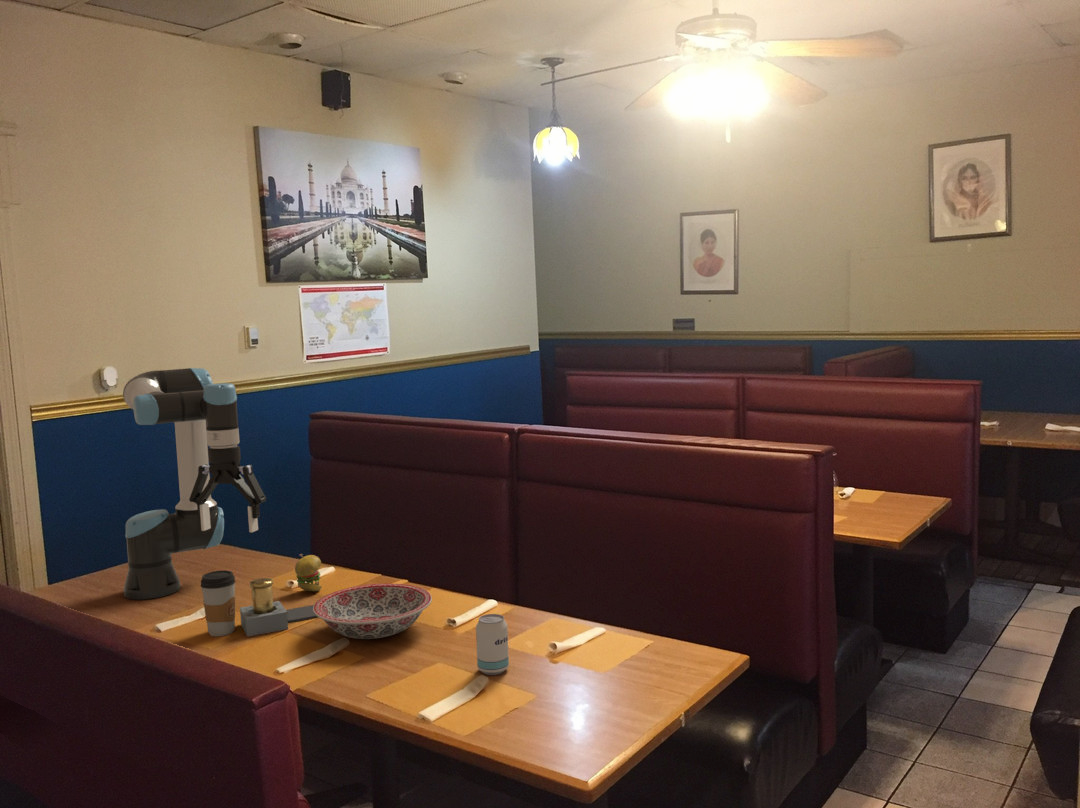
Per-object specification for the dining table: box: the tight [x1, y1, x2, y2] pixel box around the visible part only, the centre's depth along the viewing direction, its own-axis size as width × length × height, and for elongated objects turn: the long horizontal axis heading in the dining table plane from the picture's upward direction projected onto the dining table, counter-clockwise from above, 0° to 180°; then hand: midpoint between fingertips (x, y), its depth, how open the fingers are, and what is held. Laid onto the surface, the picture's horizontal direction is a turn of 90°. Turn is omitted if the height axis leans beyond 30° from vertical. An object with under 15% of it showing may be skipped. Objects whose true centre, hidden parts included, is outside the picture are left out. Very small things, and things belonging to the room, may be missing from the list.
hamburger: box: [294, 553, 322, 592], centre depth 255 cm, size 8×7×12 cm
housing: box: [239, 600, 289, 637], centre depth 228 cm, size 10×10×4 cm
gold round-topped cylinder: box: [249, 577, 274, 615], centre depth 228 cm, size 6×6×12 cm
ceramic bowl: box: [313, 583, 433, 640], centre depth 222 cm, size 29×29×8 cm
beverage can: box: [475, 613, 510, 676], centre depth 196 cm, size 7×7×12 cm
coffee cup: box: [200, 569, 237, 637], centre depth 225 cm, size 8×8×15 cm
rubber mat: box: [285, 604, 319, 624], centre depth 236 cm, size 9×9×1 cm
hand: (229, 530), depth 221 cm, fingers open, 13 cm apart
